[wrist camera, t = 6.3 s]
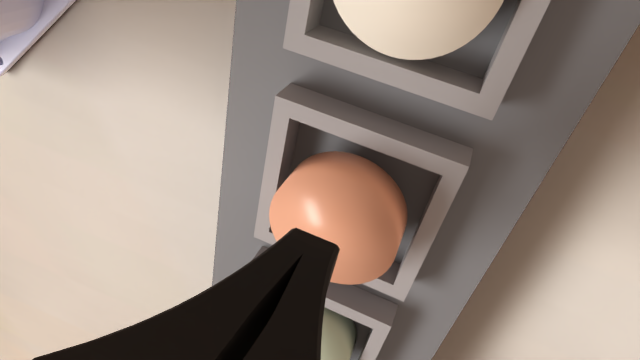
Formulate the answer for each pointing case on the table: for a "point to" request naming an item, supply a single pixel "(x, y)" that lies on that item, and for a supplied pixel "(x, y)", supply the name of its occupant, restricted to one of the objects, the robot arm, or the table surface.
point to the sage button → (337, 336)
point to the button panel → (410, 142)
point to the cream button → (416, 24)
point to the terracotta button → (344, 212)
